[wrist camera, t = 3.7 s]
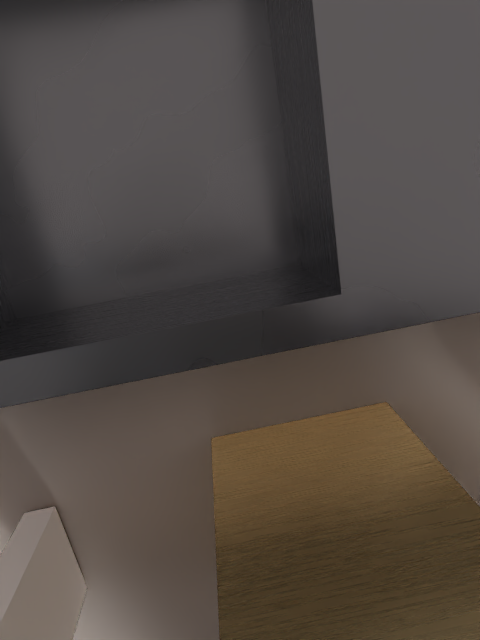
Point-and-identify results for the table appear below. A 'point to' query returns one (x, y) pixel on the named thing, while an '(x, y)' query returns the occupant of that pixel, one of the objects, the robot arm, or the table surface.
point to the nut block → (342, 533)
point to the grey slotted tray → (229, 181)
